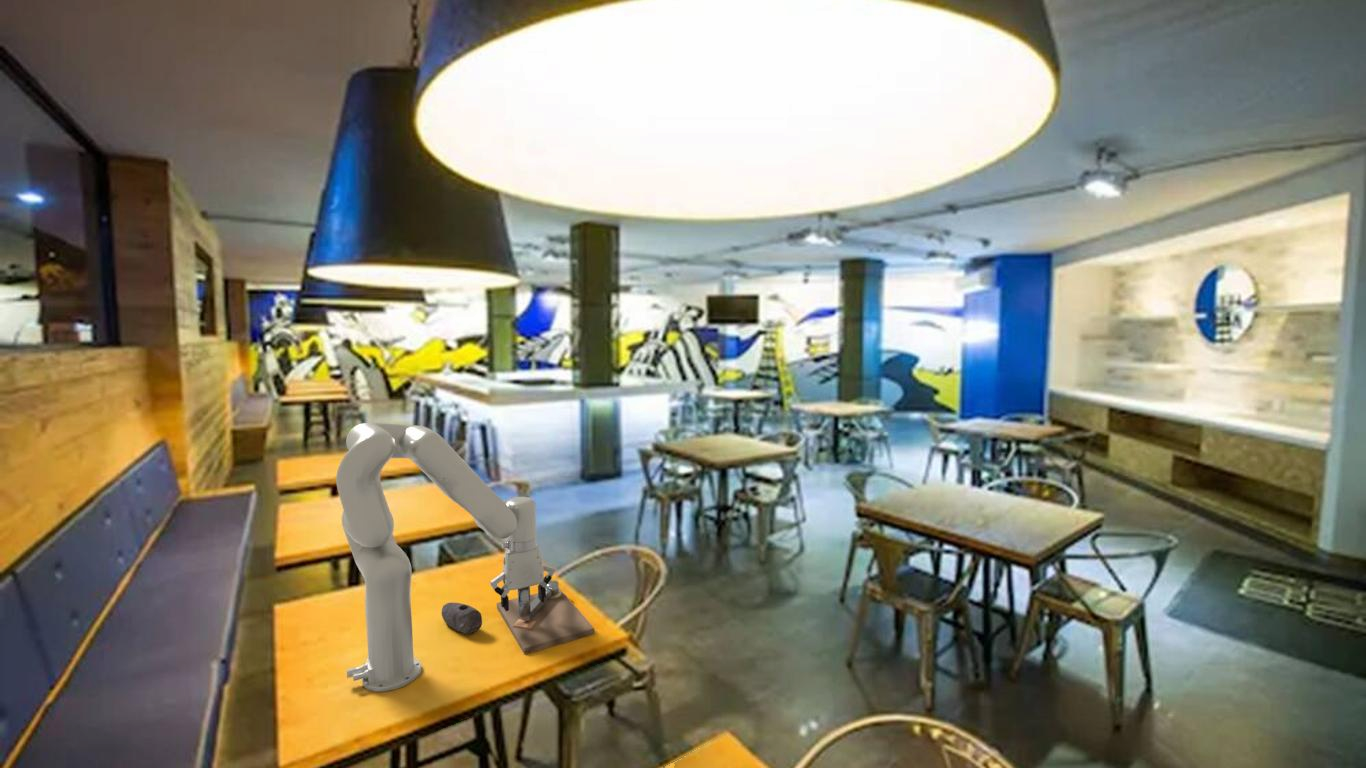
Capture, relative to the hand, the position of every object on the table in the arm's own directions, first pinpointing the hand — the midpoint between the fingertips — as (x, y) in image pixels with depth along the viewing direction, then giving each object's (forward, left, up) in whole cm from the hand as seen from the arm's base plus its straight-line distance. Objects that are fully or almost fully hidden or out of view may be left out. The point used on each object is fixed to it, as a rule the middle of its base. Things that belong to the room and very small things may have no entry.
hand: (523, 604), depth 161 cm
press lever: (+6, +7, -5) cm, 11 cm away
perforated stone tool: (-15, +10, -8) cm, 20 cm away
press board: (+6, +2, -7) cm, 10 cm away
